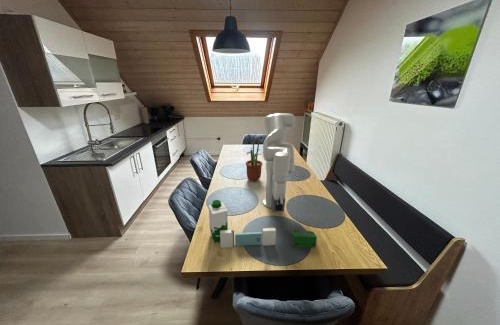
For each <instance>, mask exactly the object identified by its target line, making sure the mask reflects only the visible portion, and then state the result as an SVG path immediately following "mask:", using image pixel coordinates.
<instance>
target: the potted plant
mask: <svg viewBox="0 0 500 325" xmlns="http://www.w3.org/2000/svg"><path fill="white" fill-rule="evenodd" d="M250 143H251V144H252V147H250V151H248V152H246V155H249V154H250V159H249V160H247V161H246V162H245V165H246V177H247V179H248V180H249V181H250V182H253V183H254V182H257V181H259V180H260V178H261V176H262V166H263V162H262V161H261V160H258V157H259V156H261V154H260V153H259V151H261V150H260V141H259V140H258V142H257V148H256V153H255V137H252V142H250ZM258 155H259V156H258Z"/></svg>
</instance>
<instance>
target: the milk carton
mask: <svg viewBox="0 0 500 325" xmlns="http://www.w3.org/2000/svg"><path fill="white" fill-rule="evenodd" d="M208 218H209V219H208V220H209V230H210V235H211V238H212V240H213V243H214V244H215V243H218V242H220V231H221V230H229V227H228V225H229V224H228V208H227V207H226V205H225V203H224V202H223V201H222V202H221V201H220V199H219V200H218V199H215V200H213V201H212V203H211V204H209V205H208Z"/></svg>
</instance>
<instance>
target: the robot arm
mask: <svg viewBox="0 0 500 325" xmlns="http://www.w3.org/2000/svg"><path fill="white" fill-rule="evenodd" d="M263 125H264V129H265V132H266V135H267V136H266V137H265V139H264V140H263V144H262V157H263V160H264V161H266V162H265V170H266V182H265V183H266V184H265V186H266V187H265V188H266V189H265V198H264V199H263V201H262V204H263V206H265V207H266V208H268V209H272V208H271V203H272V194H273V196H274V199H275V200H277V204H276V211H282V205H283V200H284V199H285V200H286V190H287V188H286V187H287V182H288V181H289V180H288V179H289V175H292V174H294V173H295V150H294V145H293V144H292V143H290V142H283V141H282V140H284V139H285V138H286V135H287V130H286V129H293V128H295V125H296V117H295V115H294V114H292V113H290V112H289V113H286V112H285V113H281V112H280V113H279V112H277V113H273V114H268V115H266V116H265V117H264V124H263ZM278 200H280V202H278Z"/></svg>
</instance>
